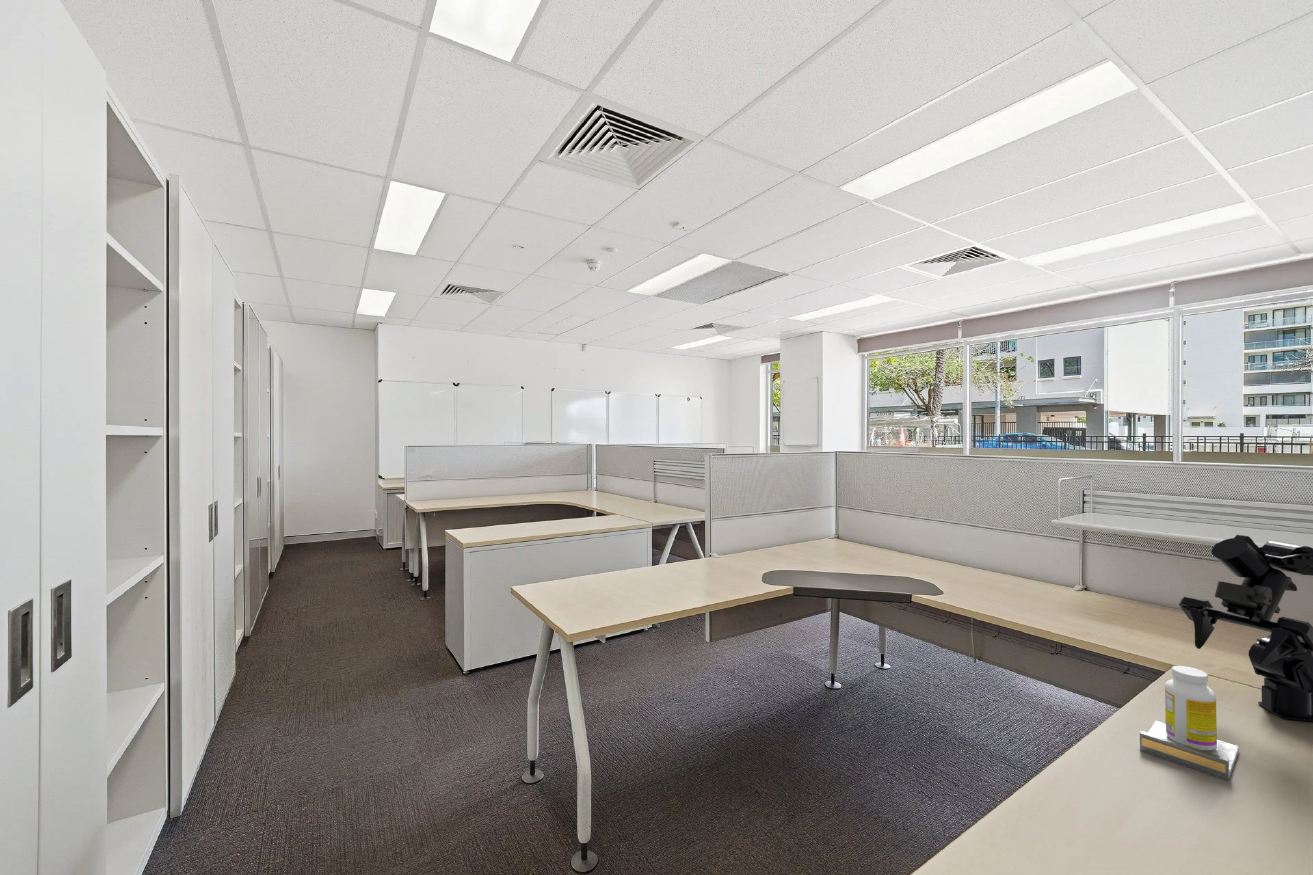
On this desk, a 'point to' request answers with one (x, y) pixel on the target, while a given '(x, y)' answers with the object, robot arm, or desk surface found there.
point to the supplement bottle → (1190, 709)
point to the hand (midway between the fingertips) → (1227, 656)
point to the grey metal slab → (1190, 752)
